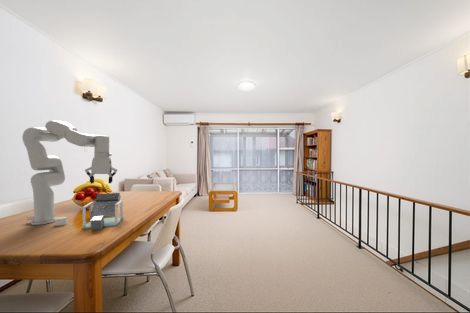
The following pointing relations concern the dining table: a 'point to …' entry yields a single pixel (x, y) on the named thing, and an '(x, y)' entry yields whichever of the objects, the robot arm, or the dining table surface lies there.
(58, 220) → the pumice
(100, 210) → the trapdoor
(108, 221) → the frame
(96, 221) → the basalt stone
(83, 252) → the dining table surface
